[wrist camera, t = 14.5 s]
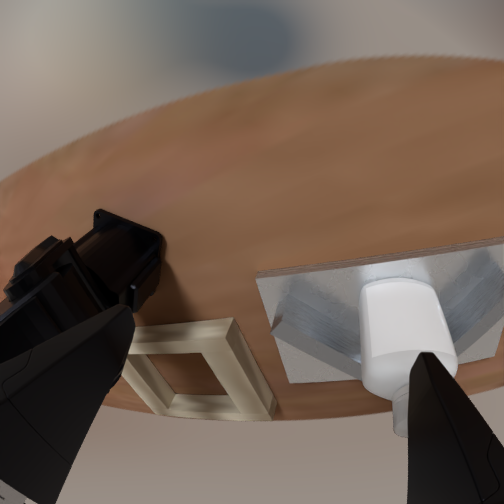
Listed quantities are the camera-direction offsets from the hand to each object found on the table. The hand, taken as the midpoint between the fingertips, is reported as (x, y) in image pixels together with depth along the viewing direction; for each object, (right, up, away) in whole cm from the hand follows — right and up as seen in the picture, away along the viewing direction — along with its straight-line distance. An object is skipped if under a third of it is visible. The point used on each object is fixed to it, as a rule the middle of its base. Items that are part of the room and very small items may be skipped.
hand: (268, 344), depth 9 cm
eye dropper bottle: (+10, 0, +12) cm, 16 cm away
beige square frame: (-7, -10, +23) cm, 26 cm away
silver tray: (+11, -3, +14) cm, 18 cm away
